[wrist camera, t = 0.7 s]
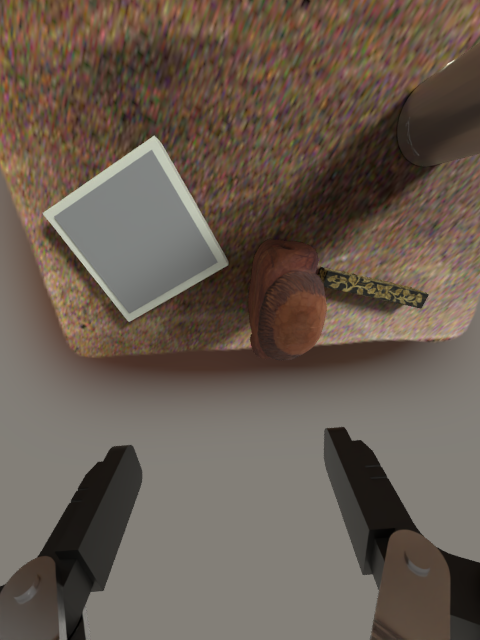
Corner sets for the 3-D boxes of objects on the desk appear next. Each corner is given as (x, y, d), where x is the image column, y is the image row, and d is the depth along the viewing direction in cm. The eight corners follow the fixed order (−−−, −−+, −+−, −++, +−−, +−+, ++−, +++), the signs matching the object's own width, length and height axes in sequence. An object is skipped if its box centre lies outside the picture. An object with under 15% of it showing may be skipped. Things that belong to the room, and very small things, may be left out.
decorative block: (414, 287, 39) (431, 293, 36) (406, 302, 40) (422, 309, 37) (319, 265, 37) (328, 269, 34) (314, 281, 38) (322, 287, 35)
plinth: (161, 143, 31) (153, 134, 27) (228, 261, 36) (228, 265, 33) (59, 213, 33) (40, 213, 30) (136, 314, 38) (128, 323, 35)
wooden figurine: (282, 317, 40) (322, 389, 23) (242, 313, 39) (252, 383, 22) (299, 238, 35) (362, 256, 19) (254, 232, 35) (277, 244, 18)
